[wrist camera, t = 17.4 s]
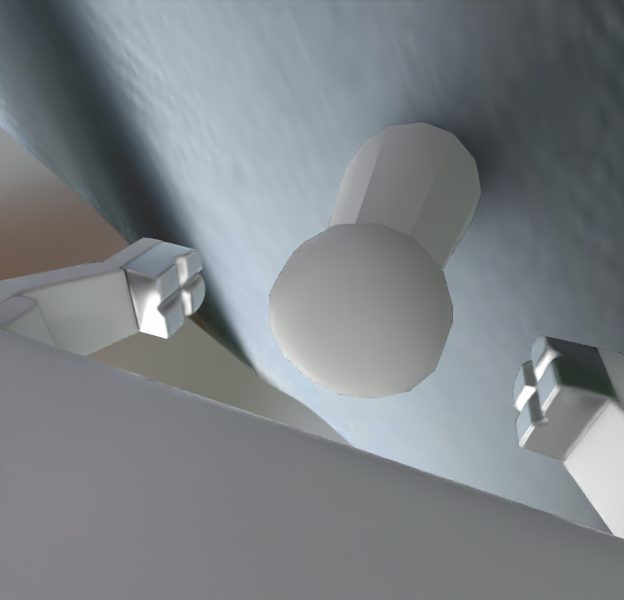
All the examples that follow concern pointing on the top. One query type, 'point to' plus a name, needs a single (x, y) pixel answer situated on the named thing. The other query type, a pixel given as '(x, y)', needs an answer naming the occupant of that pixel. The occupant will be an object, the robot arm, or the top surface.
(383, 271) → the salt shaker
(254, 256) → the top surface
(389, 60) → the top surface
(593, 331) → the top surface
